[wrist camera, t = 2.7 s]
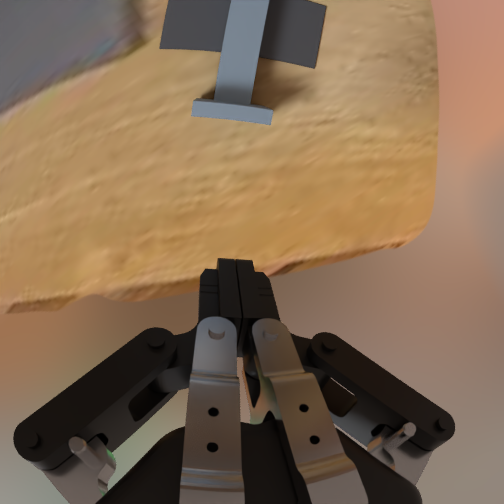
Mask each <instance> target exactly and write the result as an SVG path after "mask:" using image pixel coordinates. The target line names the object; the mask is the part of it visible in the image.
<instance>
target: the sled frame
mask: <svg viewBox="0 0 504 504" xmlns="http://www.w3.org/2000/svg"><path fill="white" fill-rule="evenodd" d="M268 4H269V0H231V4H230V9H229V14H228V19H227V24H226V29H225V35H224V40H223V46H222V51H221V57H220V63H219V69H218V75H217V82H216V88H215V95H214V100H213V99H201V98H196V99H195V100H194V101H193V107H192V115H191V116H196V117H208V118H219V119H229V120H237V121H245V122H253V123H260V124H267V125H271V120H272V115H273V110H272V109H270V108H267V107H265V106H262V105H255V104H250V103H251V97H252V91H253V85H254V79H255V74H256V68H257V63H258V57H259V52H260V46H261V41H262V35H263V30H264V25H265V20H266V15H267V10H268Z"/></svg>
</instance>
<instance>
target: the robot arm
mask: <svg viewBox="0 0 504 504" xmlns="http://www.w3.org/2000/svg"><path fill="white" fill-rule="evenodd" d="M198 312H199V313H198V323H197V325H196V326H195V328H193V329H192V330H191V331H189V332H187V333H184V334H179V335H173V334H172V333H171V332H170V331H168V330H166V329H164V328H156V327H154V328H149V329H146V330H144V331H143V332H141V333H140V334H139V335H137V336H136V337H135V338H133V339H132V340H131V341H129V342H128V343H127V344H125V345H124V346H123V347H121V348H120V349H119V350H117V351H116V352H115V353H113V354H112V355H111V356H109V357H108V358H107V359H105V360H104V361H102V362H101V363H100V364H98V365H97V366H96V367H94V368H93V369H92V370H90V371H89V372H88V373H86V374H85V375H84V376H82V377H81V378H80V379H78V380H77V381H76V382H74V383H73V384H72V385H70V386H69V387H68V388H66V389H65V390H64V391H62V392H61V393H60V394H58V395H57V396H56V397H54V398H53V399H52V400H50V401H49V402H48V403H46V404H45V405H44V406H42V407H41V408H40V409H38V410H37V411H36V412H34V413H33V414H32V415H30V416H29V417H28V418H26V419H25V420H24V421H22V422H21V423H20V424H19V425H18V426H17V427H16V429H15V432H14V437H13V440H14V445H15V448H16V450H17V451H18V453H19V454H20V455H21V456H22V457H23V458H24V459H26V460H27V461H29V462H31V463H32V464H33V465H34V466H35V467H37V468H38V469H40V470H41V471H43V472H44V473H45V475H46V476H47V478H48V479H49V480H50V481H51V482H52V484H53V485H54V486H55V487H56V489H57V490H58V491H59V492H60V493H61V494H62V495H63V497H64V498H65V499H66V500H67V501H68V502H69V503H70V504H422V498H421V495H420V492H419V491H418V489H417V488H416V486H415V485H416V483H417V482H418V480H419V478H420V476H421V474H422V472H423V470H424V468H425V466H426V464H427V462H428V460H429V458H430V456H431V454H432V452H433V450H434V449H436V448H437V447H439V446H440V445H442V444H443V443H445V442H446V441H447V440H449V439H450V438H451V437H452V436H453V434H454V432H455V423H454V420H453V418H452V417H451V415H450V414H449V413H447V412H446V411H445V410H443V409H442V408H440V407H439V406H437V405H436V404H434V403H433V402H431V401H430V400H428V399H427V398H425V397H424V396H423V395H421V394H420V393H418V392H416V391H415V390H414V389H412V388H411V387H409V386H408V385H407V384H405V383H403V382H402V381H401V380H399V379H398V378H396V377H395V376H393V375H392V374H391V373H389V372H388V371H386V370H385V369H383V368H382V367H381V366H379V365H378V364H376V363H375V362H373V361H372V360H370V359H369V358H368V357H366V356H365V355H363V354H362V353H361V352H359V351H357V350H356V349H355V348H353V347H352V346H351V345H349V344H348V343H346V342H345V341H344V340H342V339H341V338H339V337H338V336H336V335H334V334H331V333H327V332H322V333H318V334H316V335H315V336H314V337H313V338H312V339H308V338H304V337H299V336H296V335H294V334H292V333H290V332H289V330H288V328H287V327H286V325H284V324H283V323H282V322H281V321H280V318H279V314H278V310H277V306H276V302H275V299H274V294H273V291H272V287H271V283H270V280H269V278H268V277H267V276H266V275H265V274H264V273H263V272H255V271H254V266H253V261H252V260H241V259H225V258H218V260H217V269H205V270H204V272H203V273H202V274H201V276H200V290H199V311H198ZM237 357H243V368H242V377H243V382H244V386H245V391H246V396H247V400H248V405H249V410H250V424H249V423H244V422H240V383H239V378H238V377H237ZM331 378H333V379H334V380H335V381H337V382H338V383H339V384H341V385H342V386H343V387H345V388H346V389H347V390H349V391H350V392H352V393H353V394H354V395H355V396H354V395H352V394H351V393H350V392H348V391H347V390H346V389H344V388H343V387H341V386H340V385H339V384H337V383H336V382H335V381H333V380H332V379H331ZM186 388H189V393H188V403H187V413H186V424H185V426H184V427H181V428H178V429H175V430H173V431H171V432H169V433H168V434H166V435H165V436H163V437H162V438H161V439H160V440H159V441H158V442H157V443H156V444H155V445H154V446H153V447H152V448H151V449H150V450H149V451H148V452H147V453H146V454H145V455H144V456H143V457H142V458H141V459H140V460H139V461H138V462H137V463H136V464H135V465H134V466H133V467H132V468H131V469H130V470H129V471H128V472H127V473H126V475H124V476H123V477H122V478H121V479H120V480H119V481H118V482H117V483H116V484H115V485H114V486H113V487H112V488H111V489H110V490H109V491H108V488H107V486H108V481H109V479H110V477H111V476H112V475H113V473H114V472H115V469H116V460H115V458H114V455H113V454H112V452H113V451H114V450H116V449H117V448H118V447H119V446H120V445H121V444H122V443H123V442H125V440H127V439H128V438H129V437H130V436H131V435H132V434H133V433H135V432H136V431H137V430H138V429H139V428H140V427H141V426H142V425H143V424H144V423H145V422H147V421H148V420H149V419H150V418H151V417H152V416H153V415H154V414H155V413H156V412H157V411H158V410H159V409H161V408H162V407H163V406H164V405H165V404H166V403H167V402H168V401H169V400H170V399H171V398H172V397H173V396H174V395H175V394H176V393H177V392H178V390H181V389H186ZM334 424H336V425H337V426H338V427H340V428H341V429H342V430H344V431H345V432H346V433H348V434H349V435H351V436H352V437H354V438H355V439H356V440H358V441H359V442H360V443H362V444H363V445H365V446H366V447H367V451H366V450H365V449H364V448H362V447H361V446H360V445H358V444H357V443H356V442H355V441H353V440H352V439H350V438H349V437H348V436H347V435H345V434H344V433H343V432H342V431H340V430H339V429H337V428H335V426H334Z"/></svg>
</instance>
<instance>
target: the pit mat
mask: <svg viewBox="0 0 504 504" xmlns="http://www.w3.org/2000/svg"><path fill="white" fill-rule="evenodd" d="M230 4H231V0H169V1H168V6H167V10H166V15H165V20H164V26H163V31H162V37H161V42H160V49H187V50H204V51H216V52H221V51H222V46H223V40H224V35H225V29H226V24H227V19H228V14H229V9H230ZM325 9H326V6H324V5H320V4H317V3H313V2H310V1H306V0H269V4H268V10H267V15H266V20H265V25H264V30H263V35H262V41H261V46H260V52H259V57H262V58H267V59H273V60H278V61H283V62H288V63H292V64H297V65H301V66H305V67H309V68H313V69H314V68H315V63H316V58H317V52H318V47H319V42H320V37H321V31H322V26H323V20H324V15H325Z"/></svg>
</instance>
